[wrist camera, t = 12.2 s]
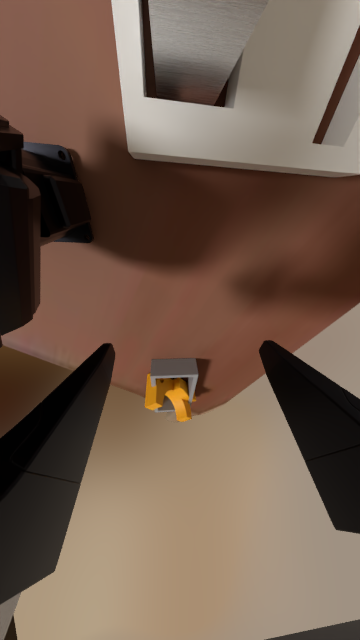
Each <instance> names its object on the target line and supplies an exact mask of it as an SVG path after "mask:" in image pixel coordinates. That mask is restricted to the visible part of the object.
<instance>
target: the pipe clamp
mask: <svg viewBox="0 0 360 640" xmlns="http://www.w3.org/2000/svg"><path fill="white" fill-rule="evenodd" d="M165 395H166V396H167V397H168V398H169V399H170V400H171V401H172V403H173V405H174V408H175V411H176V416H177V420H178V421H180V422H184V421H186V420H190V419H192V418H191V410H190V404H189V403H188V400H189V391H188V383H187V382H186V381H184V380H183V379H181V378H176V379H174V380H172V379H171V378H156V386H154V387H152V386H151V378H150V373H149V374H148V376H147V387H146V399H145V408H148V409H150V410H154V409H157V408H159V407H162V406H163V400H164V396H165ZM194 401H196V398H195V391H194V395H193V399H192V402H194Z"/></svg>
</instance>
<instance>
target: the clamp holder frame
mask: <svg viewBox="0 0 360 640" xmlns="http://www.w3.org/2000/svg"><path fill="white" fill-rule="evenodd" d="M180 377H188V382H187V383H188V391H189V400H188V403H189V404H190V407H191V403H192V399H193V395H194V391H195V387H196V383H197V379H198V369H197V363H196V358H188V359H152V362H151V373H150V378H151V386H152V387H154V386H156V378H180ZM169 411H175V408H174V405H173V403H172V401H171V400H170V399H169V398H168V397H167V396H164V400H163V406H162V407H159V408H157V409H155V412H169Z"/></svg>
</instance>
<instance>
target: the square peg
mask: <svg viewBox="0 0 360 640" xmlns="http://www.w3.org/2000/svg"><path fill="white" fill-rule="evenodd" d="M268 2H269V0H148V4H149V15H150V26H151V37H152V48H153V59H154V71H155V82H156V93H157V99H163V100H171V101H178V102H186V103H194V104H202V105H210V106H214V104H215V102H216V100H217V98H218V96H219V94H220V92H221V91H222V89H223V87H224V85H225V83H226V81H227V79H228V77H229V75H230V74H231V72H232V70H233V68H234V66H235V64H236V62H237V60H238V58H239V56H240V55H241V53H242V51H243V49H244V47H245V45H246V43H247V41H248V39H249V38H250V36H251V34H252V32H253V30H254V28H255V26H256V24H257V22H258V20H259V19H260V17H261V15H262V13H263V11H264V9H265V7H266V5H267V3H268Z"/></svg>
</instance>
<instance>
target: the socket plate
mask: <svg viewBox="0 0 360 640" xmlns="http://www.w3.org/2000/svg"><path fill="white" fill-rule="evenodd" d="M111 1H112V10H113V19H114V28H115V37H116V46H117V55H118V64H119V73H120V83H121V92H122V101H123V110H124V119H125V128H126V137H127V146H128V152H129V153H130V154H131V156H132V157H133V158H134V159H142V160H153V161H164V162H174V163H185V164H196V165H207V166H217V167H228V168H239V169H250V170H260V171H271V172H282V173H292V174H303V175H314V176H325V177H335V178H336V177H345V176H353V175H360V55H359V57H358V60H357V62H356V64H355V67H354V69H353V71H352V74H351V76H350V78H349V81H348V83H347V85H346V88H345V90H344V92H343V95H342V97H341V99H340V102H339V104H338V106H337V109H336V111H335V113H334V116H333V118H332V120H331V122H330V125H329V127H328V129H327V132H326V134H325V136H324V139H323V141H322V143H321V144H314V143H312V142H313V139H314V137H315V134H316V132H317V129H318V127H319V124H320V122H321V119H322V117H323V115H324V112H325V110H326V107H327V105H328V102H329V100H330V97H331V95H332V92H333V90H334V87H335V85H336V82H337V80H338V77H339V75H340V72H341V70H342V67H343V65H344V63H345V60H346V58H347V55H348V53H349V50H350V48H351V45H352V43H353V40H354V38H355V35H356V33H357V30H358V28H359V25H360V0H269V2H268V3H267V5H266V7H265V9H264V11H263V13H262V15H261V17H260V19H259V20H258V22H257V24H256V26H255V28H254V30H253V32H252V34H251V36H250V38H249V39H248V41H247V43H246V45H245V47H244V49H243V51H242V53H241V55H240V56H239V58H238V60H237V62H236V64H235V66H234V68H233V70H232V72H231V74H230V75H229V79H228V86H227V93H226V100H225V107H217V106H209V105H201V104H194V103H186V102H178V101H171V100H163V99H156V98H148V97H147V92H146V72H145V52H144V31H143V11H142V0H111Z"/></svg>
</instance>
